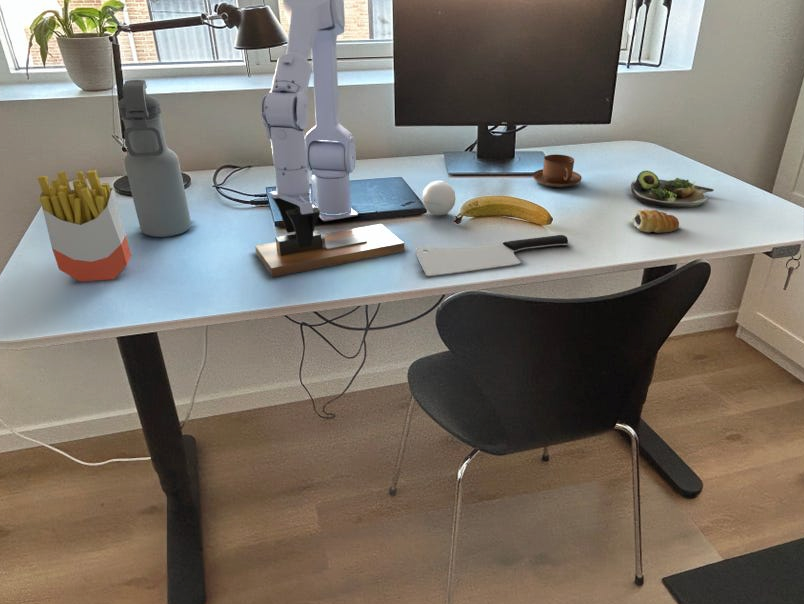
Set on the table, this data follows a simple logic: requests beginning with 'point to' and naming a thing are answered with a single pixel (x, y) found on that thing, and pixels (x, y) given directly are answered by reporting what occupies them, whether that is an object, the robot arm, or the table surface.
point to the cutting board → (331, 251)
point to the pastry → (655, 221)
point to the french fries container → (84, 227)
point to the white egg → (438, 198)
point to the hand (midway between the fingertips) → (298, 238)
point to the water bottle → (152, 165)
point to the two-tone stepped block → (314, 243)
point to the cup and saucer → (557, 172)
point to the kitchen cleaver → (480, 255)
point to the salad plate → (667, 191)
